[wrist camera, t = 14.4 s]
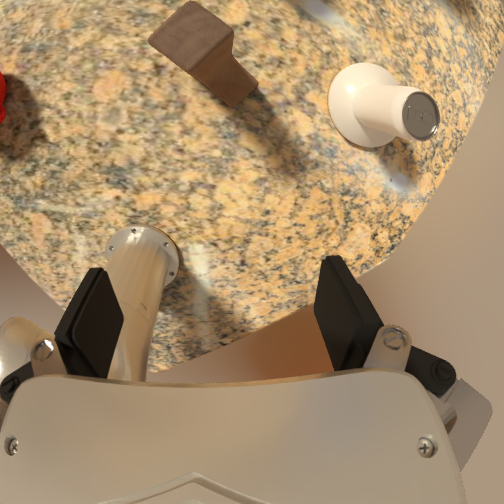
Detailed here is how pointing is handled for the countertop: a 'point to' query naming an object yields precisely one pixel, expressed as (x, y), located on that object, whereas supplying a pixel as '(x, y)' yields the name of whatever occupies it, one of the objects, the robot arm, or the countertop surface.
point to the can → (397, 111)
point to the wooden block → (204, 51)
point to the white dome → (342, 102)
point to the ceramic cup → (2, 97)
